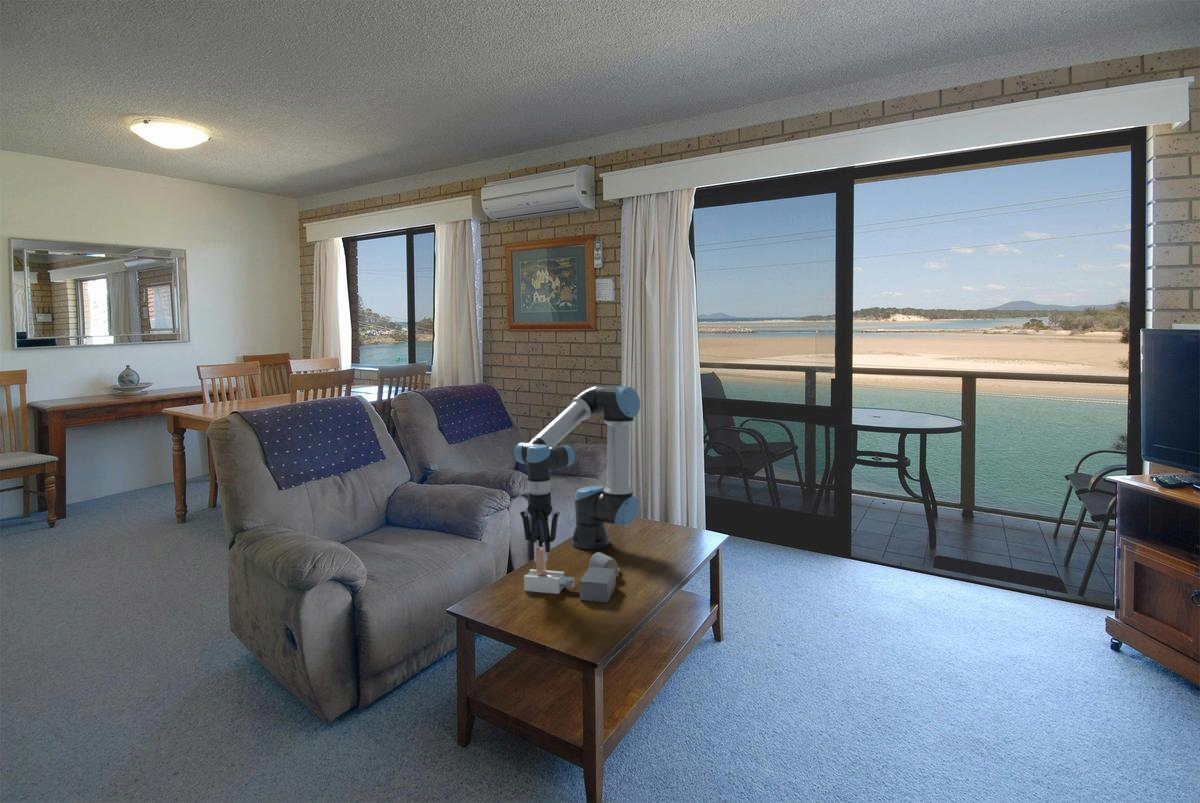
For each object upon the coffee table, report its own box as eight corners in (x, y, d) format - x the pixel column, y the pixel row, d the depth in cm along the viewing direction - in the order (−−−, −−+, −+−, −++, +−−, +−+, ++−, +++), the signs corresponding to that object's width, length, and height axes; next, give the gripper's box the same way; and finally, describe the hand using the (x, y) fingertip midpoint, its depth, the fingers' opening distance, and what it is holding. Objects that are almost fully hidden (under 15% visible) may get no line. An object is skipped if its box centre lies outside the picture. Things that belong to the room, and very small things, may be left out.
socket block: (589, 584, 208) (589, 566, 207) (615, 586, 206) (615, 568, 205) (580, 599, 196) (579, 581, 195) (607, 602, 194) (607, 583, 193)
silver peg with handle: (529, 581, 208) (528, 545, 207) (574, 585, 204) (574, 549, 203) (525, 585, 205) (524, 549, 204) (571, 589, 201) (571, 552, 200)
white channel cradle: (531, 583, 210) (530, 569, 209) (564, 586, 207) (564, 571, 206) (524, 590, 204) (523, 576, 203) (558, 593, 201) (558, 579, 200)
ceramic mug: (605, 582, 210) (605, 560, 209) (588, 576, 215) (588, 554, 215) (625, 573, 217) (625, 552, 216) (608, 568, 223) (608, 547, 222)
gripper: (513, 493, 200) (515, 563, 203) (558, 496, 196) (559, 566, 199) (521, 488, 207) (523, 555, 210) (565, 490, 204) (566, 558, 206)
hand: (541, 560), depth 204 cm, fingers closed on silver peg with handle, 2 cm apart
